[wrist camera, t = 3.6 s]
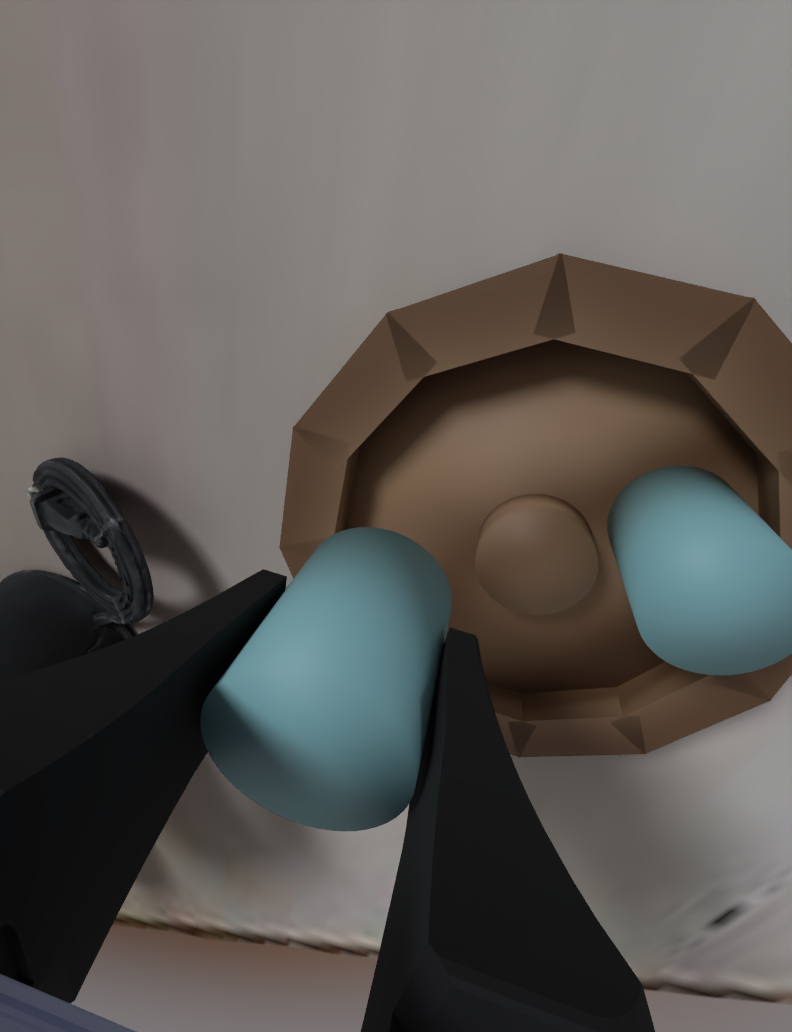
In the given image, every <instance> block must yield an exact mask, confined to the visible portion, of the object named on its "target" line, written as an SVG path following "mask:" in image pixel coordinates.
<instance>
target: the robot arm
mask: <svg viewBox="0 0 792 1032" xmlns="http://www.w3.org/2000/svg"><path fill="white" fill-rule="evenodd" d="M286 579H287V577H286V576H283V575H280V574H277V573H273V572H270V571H267V570H264V569H263V570H261V571H259V572H258V573H256V574H254V575H252V576H250V577H248V578H247V579H245V580H243V581H241V582H240V583H238V584H236V585H234V586H233V587H231V588H229V589H227V590H226V591H224V592H222V593H220V594H218V595H217V596H215V597H213V598H211V599H209V600H207V601H206V602H204V603H202V604H200V605H198V606H196V607H194V608H192V609H191V610H189V611H187V612H185V613H183V614H181V615H179V616H177V617H175V618H173V619H171V620H168V621H166V622H164V623H162V624H160V625H158V626H156V627H154V628H152V629H150V630H147V631H145V632H143V633H141V634H138V635H136V636H133V637H131V638H129V639H126V640H124V641H121V642H118V643H116V644H113V645H111V646H108V647H106V648H103V649H100V650H97V651H95V652H92V653H89V654H86V655H83V656H80V657H76V658H73V659H70V660H67V661H64V662H61V663H58V664H55V665H52V666H49V667H45V668H42V669H39V670H35V671H32V672H28V673H24V674H21V675H17V676H13V677H10V678H6V679H2V680H0V1032H135V1031H133V1030H131V1029H129V1028H126V1027H124V1026H122V1025H119V1024H117V1023H115V1022H112V1021H110V1020H107V1019H105V1018H103V1017H100V1016H98V1015H96V1014H93V1013H91V1012H88V1011H86V1010H84V1009H81V1008H79V1007H77V1006H75V1005H72V1004H70V1003H71V1002H73V1001H74V1000H75V999H76V997H77V994H78V992H79V990H80V988H81V986H82V984H83V982H84V980H85V978H86V976H87V974H88V972H89V970H90V968H91V966H92V964H93V962H94V960H95V958H96V956H97V954H98V952H99V950H100V948H101V946H102V944H103V942H104V940H105V938H106V935H107V934H108V932H109V930H110V928H111V926H112V924H113V922H114V920H115V918H116V916H117V914H118V912H119V910H120V908H121V906H122V904H123V903H124V901H125V899H126V897H127V895H128V893H129V891H130V889H131V887H132V885H133V883H134V882H135V880H136V878H137V876H138V874H139V872H140V870H141V868H142V866H143V864H144V862H145V861H146V859H147V857H148V855H149V853H150V851H151V850H152V848H153V846H154V844H155V842H156V840H157V839H158V837H159V835H160V833H161V831H162V829H163V828H164V826H165V824H166V822H167V820H168V818H169V817H170V815H171V813H172V811H173V809H174V808H175V806H176V804H177V802H178V801H179V799H180V797H181V795H182V794H183V792H184V790H185V788H186V787H187V785H188V783H189V781H190V779H191V778H192V776H193V774H194V773H195V771H196V769H197V768H198V766H199V765H200V763H201V762H202V760H203V758H204V757H205V755H206V754H207V752H208V751H207V748H206V746H205V743H204V741H203V737H202V732H201V723H200V719H201V711H202V708H203V704H204V702H205V700H206V698H207V696H208V695H209V693H210V692H211V690H212V689H213V688H214V686H215V685H216V684H217V682H218V681H219V680H220V678H221V677H222V675H223V674H224V673H225V671H226V670H227V669H228V667H229V666H230V665H231V663H232V662H233V661H234V659H235V658H236V656H237V655H238V654H239V652H240V651H241V650H242V648H243V647H244V646H245V644H246V643H247V641H248V640H249V639H250V637H251V636H252V635H253V633H254V632H255V631H256V629H257V628H258V627H259V625H260V624H261V622H262V621H263V620H264V618H265V617H266V616H267V614H268V613H269V612H270V610H271V609H272V608H273V606H274V605H275V603H276V602H277V601H278V599H279V598H280V597H281V595H282V594H283V593H284V591H285V588H286ZM361 1032H655V1030H654V1026H653V1022H652V1018H651V1015H650V1011H649V1007H648V1004H647V1001H646V997H645V993H644V989H643V986H642V984H641V982H640V981H639V979H638V978H637V977H636V975H635V974H634V972H633V971H632V969H631V968H630V966H629V965H628V964H627V962H626V961H625V959H624V958H623V956H622V955H621V954H620V952H619V951H618V949H617V948H616V946H615V945H614V943H613V942H612V941H611V939H610V938H609V936H608V935H607V933H606V932H605V930H604V929H603V928H602V926H601V925H600V923H599V922H598V920H597V919H596V917H595V915H594V914H593V912H592V911H591V909H590V907H589V906H588V904H587V903H586V901H585V899H584V898H583V896H582V894H581V893H580V891H579V890H578V888H577V886H576V885H575V883H574V882H573V880H572V878H571V876H570V875H569V873H568V871H567V869H566V867H565V866H564V864H563V862H562V860H561V858H560V857H559V855H558V853H557V851H556V850H555V848H554V846H553V844H552V842H551V841H550V839H549V837H548V835H547V833H546V832H545V830H544V828H543V826H542V824H541V822H540V820H539V818H538V816H537V814H536V812H535V810H534V808H533V806H532V804H531V802H530V800H529V798H528V795H527V793H526V791H525V789H524V787H523V784H522V782H521V780H520V778H519V775H518V773H517V771H516V768H515V766H514V764H513V761H512V758H511V756H510V753H509V751H508V748H507V745H506V743H505V740H504V737H503V735H502V732H501V729H500V726H499V723H498V720H497V717H496V714H495V710H494V707H493V704H492V700H491V697H490V694H489V690H488V686H487V682H486V678H485V674H484V670H483V665H482V660H481V655H480V649H479V641H478V639H477V637H476V635H473V634H470V633H467V632H464V631H460V630H457V629H454V628H451V627H450V628H449V631H448V634H447V637H446V640H445V643H444V647H443V652H442V657H441V662H440V666H439V671H438V676H437V683H436V688H435V693H434V698H433V703H432V708H431V713H430V718H429V723H428V728H427V733H426V737H425V742H424V747H423V752H422V757H421V762H420V767H419V772H418V777H417V782H416V786H415V790H414V794H413V797H412V799H411V801H410V804H409V811H408V819H407V826H406V832H405V838H404V843H403V849H402V854H401V858H400V863H399V867H398V872H397V876H396V881H395V885H394V890H393V894H392V899H391V903H390V908H389V912H388V916H387V921H386V925H385V930H384V934H383V938H382V943H381V947H380V952H379V956H378V960H377V965H376V969H375V973H374V978H373V982H372V986H371V990H370V995H369V999H368V1003H367V1008H366V1012H365V1017H364V1021H363V1025H362V1029H361Z"/></svg>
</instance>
